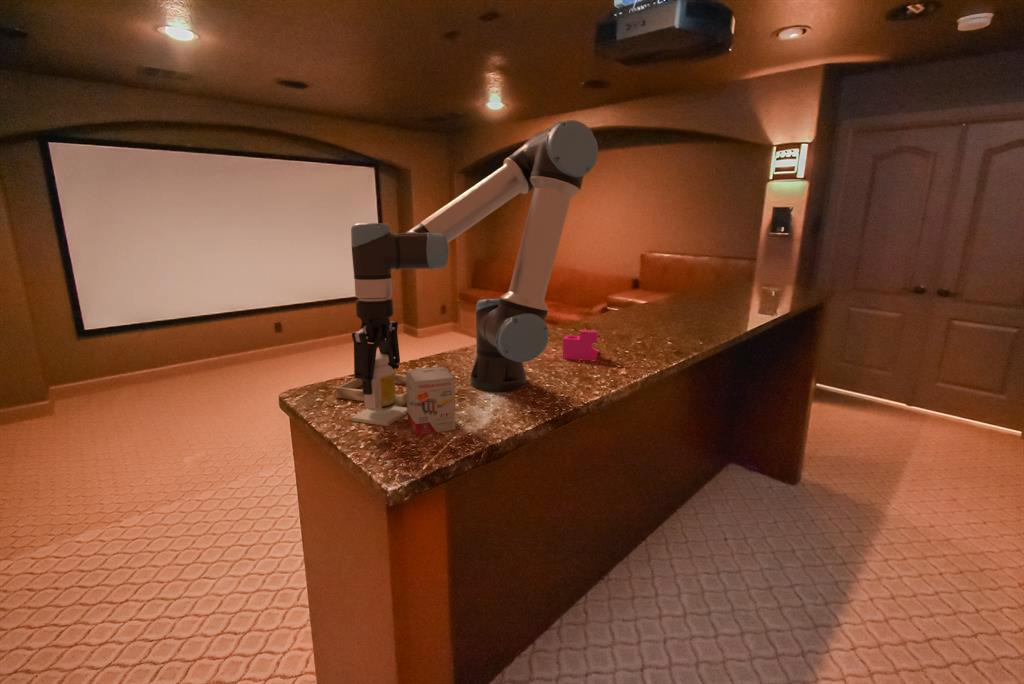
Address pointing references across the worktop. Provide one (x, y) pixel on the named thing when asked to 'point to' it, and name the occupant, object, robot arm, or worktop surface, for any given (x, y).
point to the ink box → (430, 400)
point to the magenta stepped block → (580, 346)
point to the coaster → (380, 416)
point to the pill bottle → (384, 383)
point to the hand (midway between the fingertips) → (380, 401)
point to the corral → (351, 392)
